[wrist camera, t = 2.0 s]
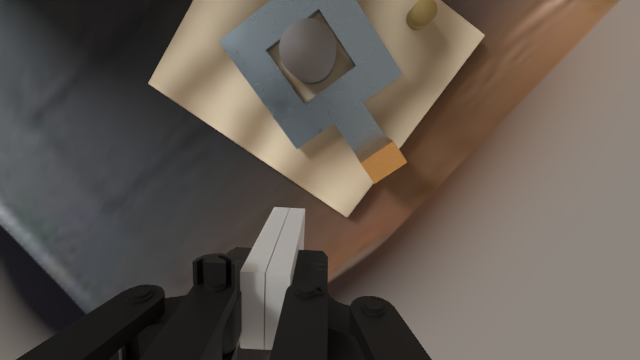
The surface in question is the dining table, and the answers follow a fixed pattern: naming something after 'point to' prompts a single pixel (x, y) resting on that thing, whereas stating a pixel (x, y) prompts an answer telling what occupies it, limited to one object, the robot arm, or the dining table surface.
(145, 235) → the dining table surface
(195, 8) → the post board
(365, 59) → the flange plate
